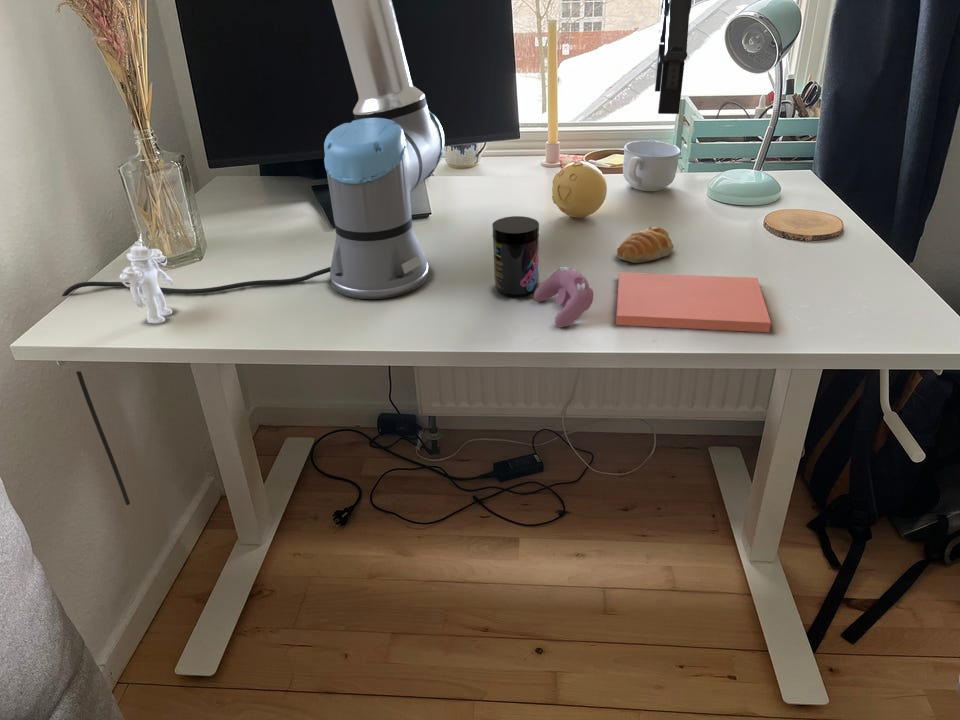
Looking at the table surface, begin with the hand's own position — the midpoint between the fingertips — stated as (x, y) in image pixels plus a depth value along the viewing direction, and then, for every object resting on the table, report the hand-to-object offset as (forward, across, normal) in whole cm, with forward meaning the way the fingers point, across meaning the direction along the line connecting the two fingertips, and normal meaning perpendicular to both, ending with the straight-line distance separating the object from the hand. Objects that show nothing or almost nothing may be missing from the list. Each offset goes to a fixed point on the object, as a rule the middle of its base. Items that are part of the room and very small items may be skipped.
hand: (666, 101), depth 107 cm
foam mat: (+25, -14, -5) cm, 29 cm away
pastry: (+25, +3, +1) cm, 25 cm away
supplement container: (+25, -11, +20) cm, 34 cm away
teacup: (+25, +36, 0) cm, 44 cm away
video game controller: (+25, -18, +12) cm, 33 cm away
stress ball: (+25, +20, +12) cm, 35 cm away
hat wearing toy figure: (+26, -24, +71) cm, 80 cm away
